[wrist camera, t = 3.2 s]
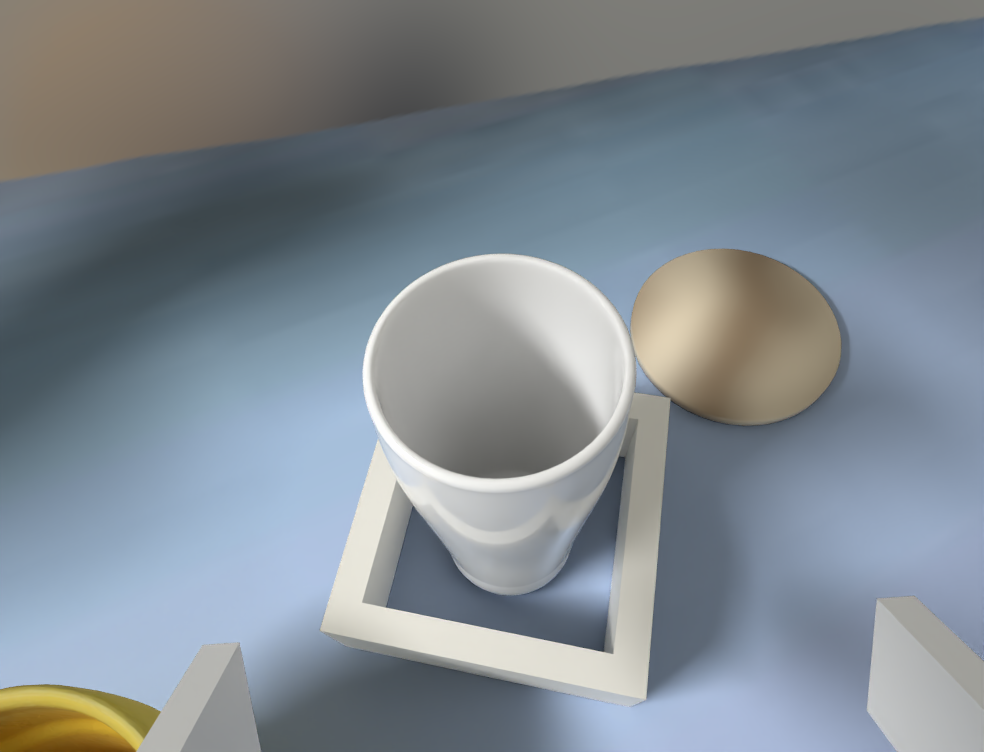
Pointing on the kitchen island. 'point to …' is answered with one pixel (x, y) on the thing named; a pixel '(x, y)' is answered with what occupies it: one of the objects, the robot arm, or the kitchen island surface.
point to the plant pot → (71, 720)
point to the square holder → (498, 654)
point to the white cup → (501, 409)
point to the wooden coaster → (735, 337)
